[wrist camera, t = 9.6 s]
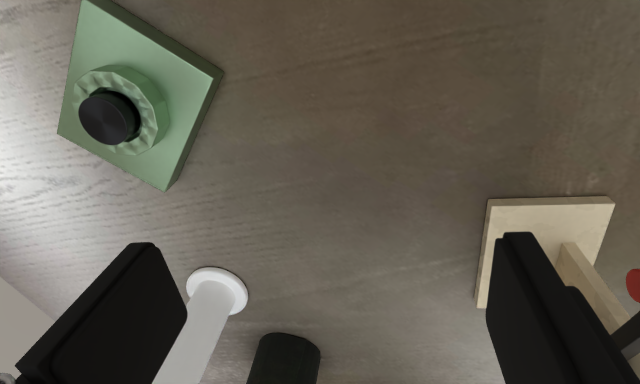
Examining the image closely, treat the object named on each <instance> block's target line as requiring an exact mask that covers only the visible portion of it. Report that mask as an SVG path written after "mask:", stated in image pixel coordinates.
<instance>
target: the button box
mask: <svg viewBox="0 0 640 384" xmlns="http://www.w3.org/2000/svg"><path fill="white" fill-rule="evenodd" d="M223 74H224V72H223V71H222V70H220V69H219V68H217V67H216V66H214V65H212V64H211V63H209V62H208V61H206V60H204V59H203V58H201V57H200V56H198V55H196V54H195V53H193V52H192V51H190V50H189V49H187V48H185V47H184V46H182V45H181V44H179V43H177V42H176V41H174V40H173V39H171V38H169V37H168V36H166V35H165V34H163V33H161V32H160V31H158V30H157V29H155V28H154V27H152V26H150V25H149V24H147V23H146V22H144V21H142V20H141V19H139V18H138V17H136V16H134V15H133V14H131V13H130V12H128V11H126V10H125V9H123V8H122V7H120V6H119V5H117V4H115V3H114V2H112V1H111V0H81V4H80V10H79V15H78V21H77V26H76V32H75V37H74V43H73V48H72V53H71V59H70V64H69V70H68V75H67V81H66V86H65V92H64V97H63V103H62V108H61V114H60V119H59V125H58V130H57V134H58V135H60V136H62V137H64V138H66V139H68V140H69V141H71V142H73V143H75V144H77V145H79V146H80V147H82V148H84V149H86V150H88V151H90V152H91V153H93V154H95V155H97V156H99V157H101V158H102V159H104V160H106V161H108V162H110V163H111V164H113V165H115V166H117V167H119V168H121V169H122V170H124V171H126V172H128V173H130V174H132V175H133V176H135V177H137V178H139V179H141V180H143V181H144V182H146V183H148V184H150V185H152V186H153V187H155V188H157V189H159V190H161V191H163V192H166V191H167V190H168V189H169V188H170V187H171V186H172V185H173V184H174V183H175V182H176V181H177V179H178V176H179V174H180V172H181V170H182V167H183V165H184V163H185V160H186V158H187V156H188V154H189V151H190V149H191V147H192V144H193V142H194V140H195V138H196V135H197V133H198V131H199V128H200V126H201V124H202V122H203V119H204V117H205V115H206V112H207V110H208V108H209V106H210V103H211V101H212V99H213V96H214V94H215V92H216V90H217V87H218V85H219V83H220V81H221V78H222V76H223ZM110 90H111V91H116V92H119V93H121V94H123V95H125V96H126V97H127V98H129V99H130V100H131V101H132V102H133V104H134V105H135V106H136V108H137V110H138V112H139V115H140V120H141V123H140V128H139V130H138V131H137V133H136V134H134V135H133V136H131V137H130V138H128V139H126V140H125V141H123V142H122V143H120V144H118V145H106V144H102V143H100V142H98V141H96V140H95V139H93V138H92V137H91V136H90V135H89V134H88V133H87V132H86V131H85V130H84V128H83V126H82V125H81V122H80V120H79V115H78V110H79V106H80V104H81V103H82V101H83V100H85V99H87V98H89V97H91V96H94V95H96V94H98V93H101V92H103V91H110Z"/></svg>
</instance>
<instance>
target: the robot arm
mask: <svg viewBox="0 0 640 384" xmlns="http://www.w3.org/2000/svg"><path fill="white" fill-rule="evenodd" d="M187 316H188V312H187V308H186V306H185V304H184V302H183V299H182V297H181V295H180V293H179V291H178V288H177V286H176V284H175V282H174V280H173V277H172V275H171V273H170V271H169V269H168V266H167V264H166V262H165V260H164V258H163V255H162V253H161V251H160V249H159V248H157V247H155V245H154V244H153V243H150V242H141V243H130V244H129V245H128V246H127V247H126V248H125V249H124V250H123V251H122V252H121V253H120V254H119V255H118V256H117V257H116V258H115V259H114V260H113V261H112V262H111V264H110V265H109V266H108V267H107V268H106V269H105V270H104V271H103V272H102V273H101V274H100V275H99V276H98V277H97V278H96V279H95V281H94V282H93V283H92V284H91V285H90V286H89V287H88V288H87V289H86V290H85V291H84V292H83V293H82V294H81V295H80V296H79V298H78V299H77V300H76V301H75V302H74V303H73V304H72V305H71V306H70V307H69V308H68V309H67V310H66V311H65V312H64V313H63V315H62V316H61V317H60V318H59V319H58V320H57V321H56V322H55V323H54V324H53V325H52V326H51V327H50V328H49V329H48V331H47V332H46V333H45V334H44V335H43V336H42V337H41V338H40V339H39V340H38V341H37V342H36V343H35V344H34V345H33V346H32V348H31V349H30V350H29V351H28V352H27V353H26V354H25V355H24V356H23V357H22V358H21V359H20V360H19V362H17V363H16V365H15V367H16V368H17V369H18V370H19V371H20V372H21V373H22V374H21V375H20V376H19V377H18V378H17V379H16V380H15V378H14V377H13V376H12V375H11V374H7V373H0V384H152V382H153V380H154V379H155V377H156V375H157V373H158V371H159V370H160V368H161V366H162V364H163V362H164V361H165V359H166V357H167V355H168V353H169V352H170V350H171V348H172V346H173V345H174V343H175V341H176V339H177V337H178V336H179V334H180V332H181V330H182V328H183V327H184V325H185V323H186V321H187ZM486 323H487V327H488V331H489V334H490V337H491V340H492V343H493V346H494V349H495V352H496V355H497V358H498V361H499V365H500V368H501V371H502V374H503V377H504V380H505V383H506V384H640V380H639V378H638V377H637V375H636V374H635V372H634V370H633V369H632V367H631V366H630V364H629V363H628V361H627V360H626V358H625V357H624V355H623V354H622V352H621V351H620V349H619V348H618V346H617V345H616V343H615V342H614V340H613V339H612V337H611V336H610V334H609V333H608V331H607V330H606V328H605V327H604V325H603V324H602V322H601V321H600V319H599V318H598V316H597V315H596V313H595V312H594V310H593V309H592V307H591V306H590V304H589V303H588V301H587V300H586V298H585V297H584V295H583V294H582V293H581V291H580V290H579V289H578V288H576V287H575V286H565V284H564V283H563V281H562V279H561V278H560V276H559V275H558V273H557V271H556V270H555V268H554V267H553V265H552V263H551V262H550V260H549V259H548V257H547V255H546V254H545V252H544V251H543V249H542V247H541V246H540V244H539V242H538V241H537V239H536V238H535V236H534V235H533V233H532V232H530V231H525V232H505V233H504V234H503V238H497V239H496V240H495V245H494V252H493V260H492V268H491V276H490V283H489V291H488V299H487V307H486Z"/></svg>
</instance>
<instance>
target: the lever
mask: <svg viewBox="0 0 640 384" xmlns="http://www.w3.org/2000/svg"><path fill="white" fill-rule="evenodd" d="M626 287H627V290H628V292H629V294H630V296H631V297H632V298H633V299H634V300H635V301H636V302H639V303H640V269H632V270H630V271H629V272H628V273H627V276H626ZM610 336H611V337H612V339H613V340H614V342H615V343H616V345H617V346H618V348H619V349H620V351H621V352H622V354H623V355H624V357H625V358H626V360H627V361H628V360H630V359H631V358H633V357H634V356H636V355H637V354H639V353H640V311H639V312H638V313H637V314H635V315H634V316H633V317H632V318H631V319H629V320H628V321H627V322H626V323H624V324H623V325H622V326H621V327H619V328H618V329H617V330H616V331H614V332H613V333H612V334H611V335H610Z"/></svg>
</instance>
